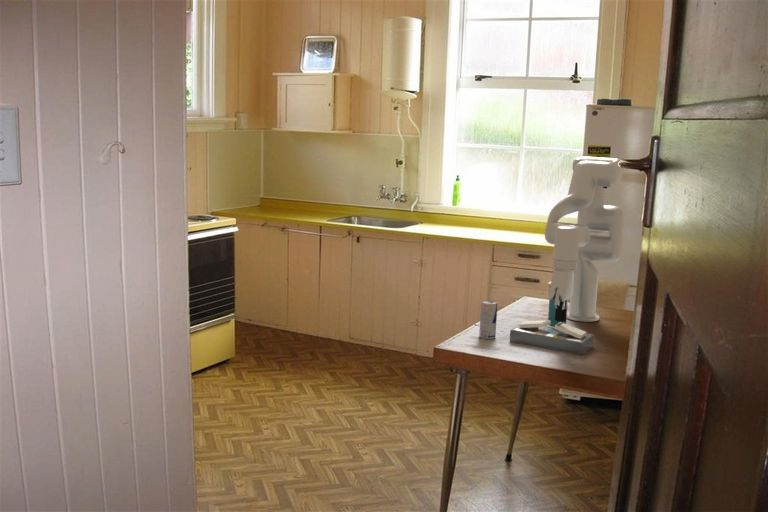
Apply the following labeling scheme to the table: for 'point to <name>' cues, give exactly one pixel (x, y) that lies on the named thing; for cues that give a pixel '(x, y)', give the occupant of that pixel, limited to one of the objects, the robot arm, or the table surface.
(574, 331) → the rocker
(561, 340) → the grey rectangular tray
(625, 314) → the table surface
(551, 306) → the beverage bottle
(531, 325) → the rocker
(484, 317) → the energy drink
